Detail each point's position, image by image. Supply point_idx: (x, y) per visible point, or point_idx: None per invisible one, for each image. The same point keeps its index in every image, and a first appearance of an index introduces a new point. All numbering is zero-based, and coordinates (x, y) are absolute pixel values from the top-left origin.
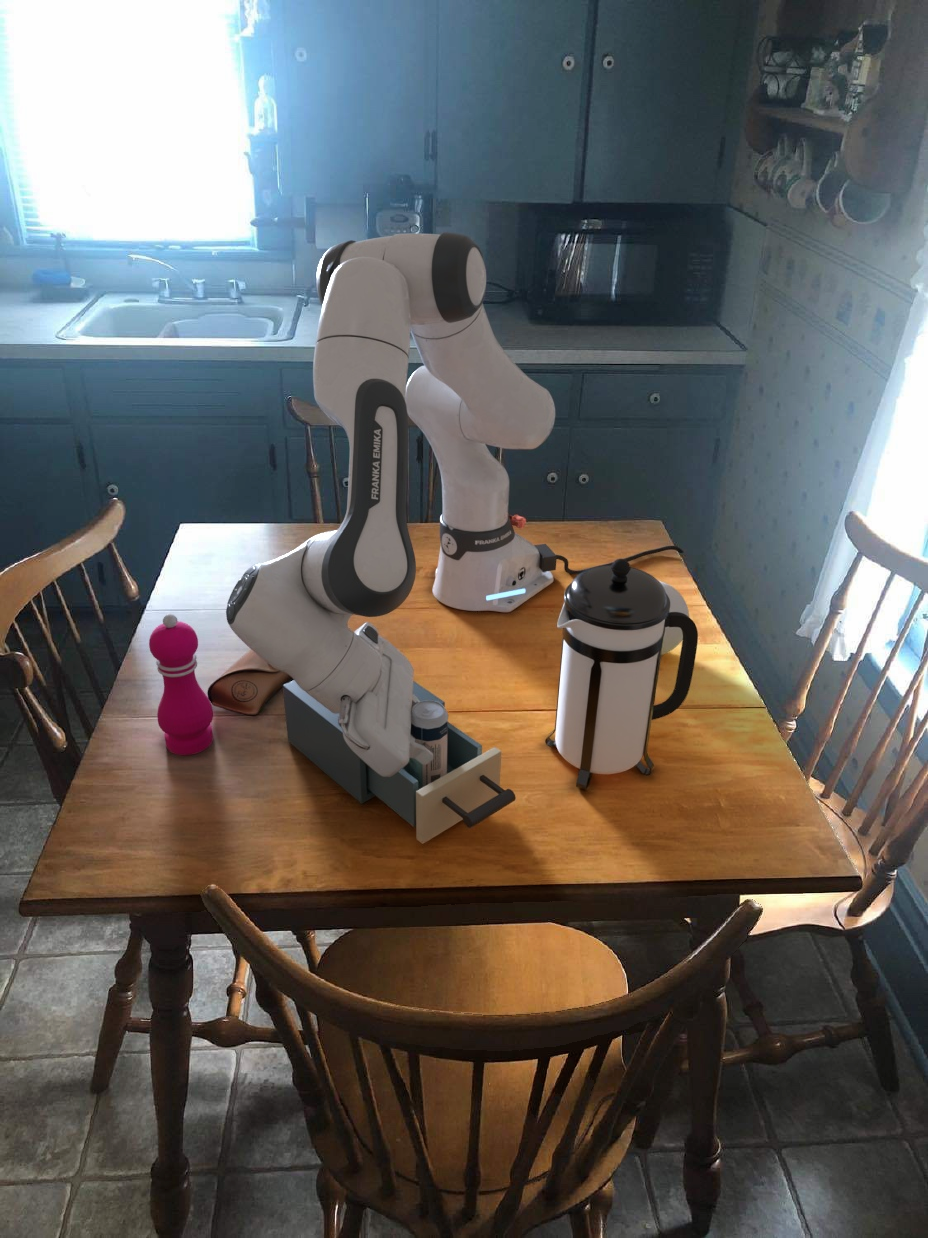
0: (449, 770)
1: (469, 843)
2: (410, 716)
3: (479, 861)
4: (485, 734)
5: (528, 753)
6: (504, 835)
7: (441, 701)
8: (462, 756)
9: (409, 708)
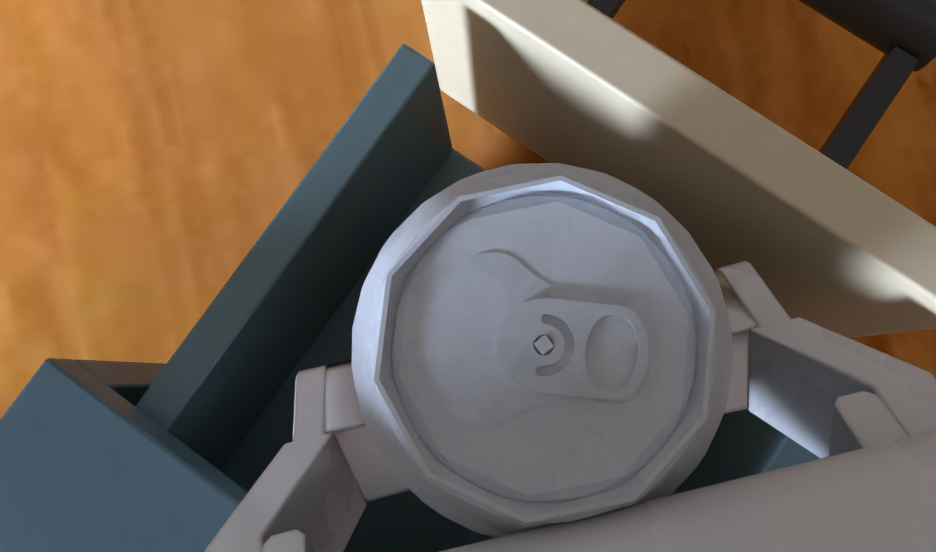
0: None
1: None
2: (704, 501)
3: (817, 75)
4: (14, 220)
5: (114, 12)
6: (646, 12)
7: (45, 382)
8: (379, 204)
9: (596, 547)
